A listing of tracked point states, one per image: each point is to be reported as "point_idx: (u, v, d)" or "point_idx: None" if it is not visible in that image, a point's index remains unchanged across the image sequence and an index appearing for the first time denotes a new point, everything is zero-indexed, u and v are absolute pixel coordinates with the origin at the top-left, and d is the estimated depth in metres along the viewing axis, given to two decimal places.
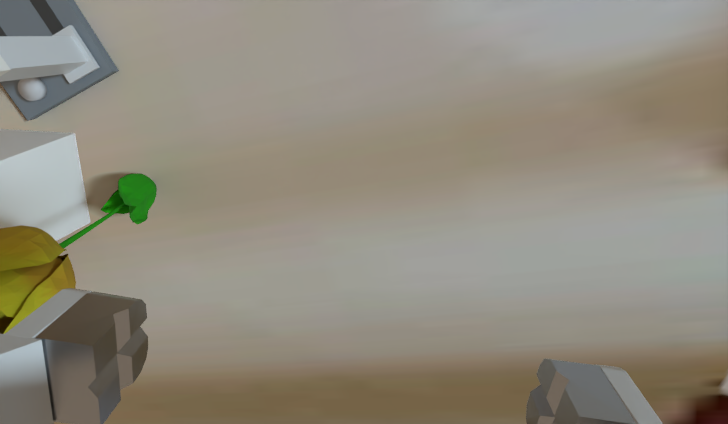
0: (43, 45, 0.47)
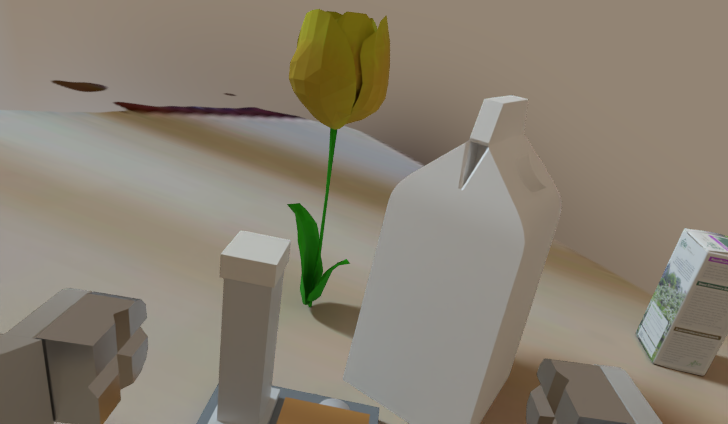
0: None
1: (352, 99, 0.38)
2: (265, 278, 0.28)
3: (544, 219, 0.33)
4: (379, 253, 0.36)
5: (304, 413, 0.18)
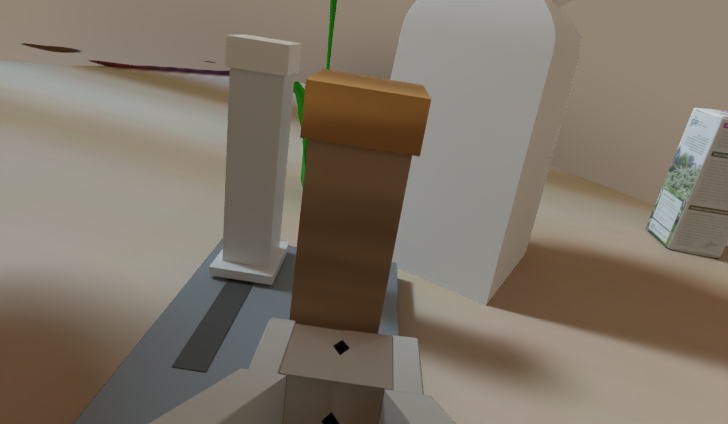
0: None
1: None
2: (277, 64, 0.25)
3: (570, 32, 0.31)
4: None
5: (348, 74, 0.15)
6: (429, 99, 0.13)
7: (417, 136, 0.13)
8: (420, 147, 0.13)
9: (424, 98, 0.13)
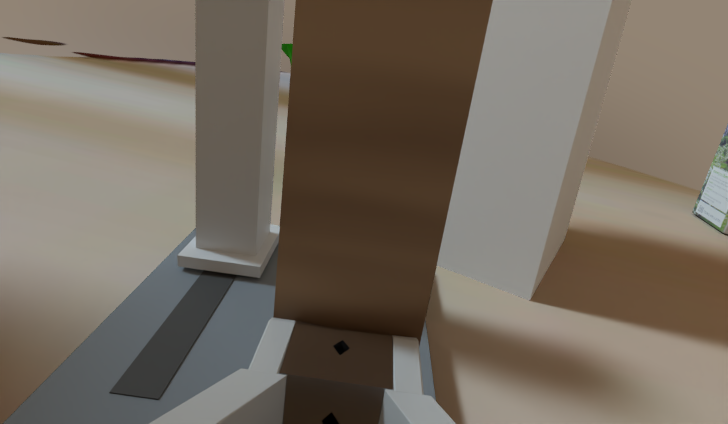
0: None
1: None
2: None
3: None
4: None
5: None
6: None
7: None
8: None
9: None
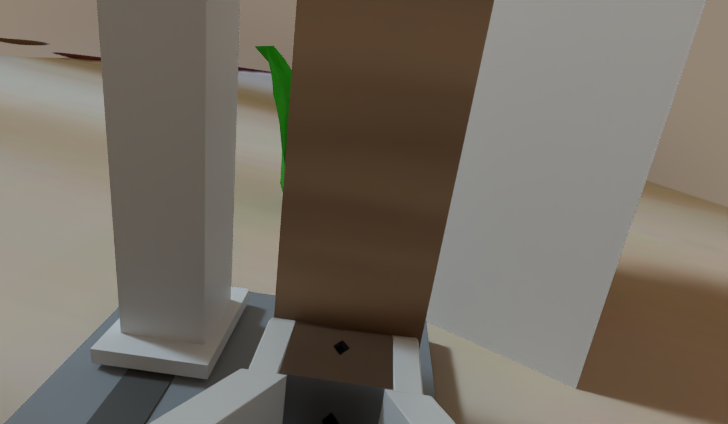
0: None
1: None
2: None
3: None
4: None
5: None
6: None
7: None
8: None
9: None
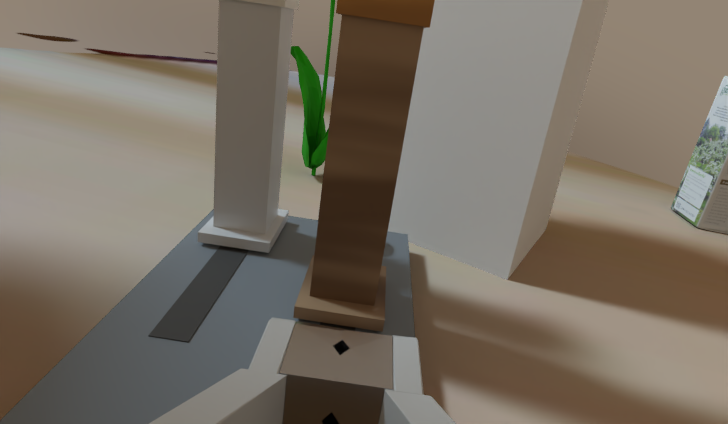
0: None
1: None
2: None
3: None
4: None
5: None
6: None
7: (427, 9, 0.16)
8: (430, 19, 0.17)
9: None
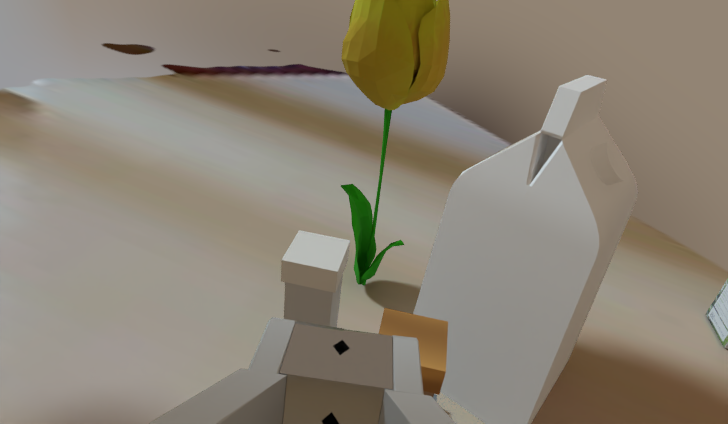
0: None
1: (409, 81, 0.36)
2: (326, 283, 0.28)
3: (620, 215, 0.30)
4: (438, 245, 0.35)
5: (399, 319, 0.24)
6: (444, 370, 0.22)
7: (437, 386, 0.22)
8: (439, 391, 0.22)
9: (442, 370, 0.22)
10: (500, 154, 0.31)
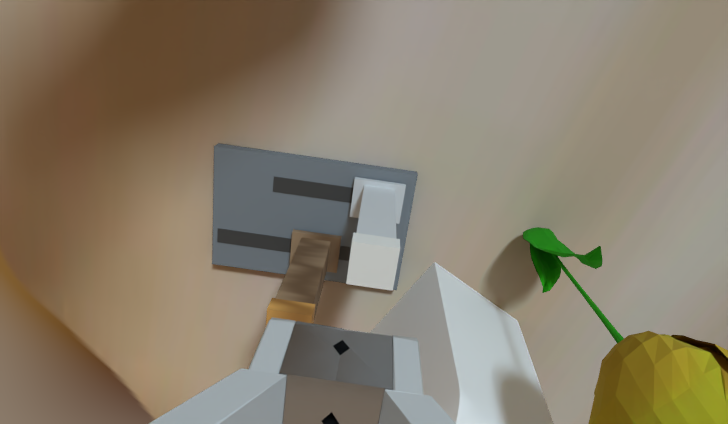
0: (372, 205, 0.40)
1: None
2: None
3: None
4: (447, 346, 0.38)
5: None
6: None
7: None
8: None
9: None
10: None
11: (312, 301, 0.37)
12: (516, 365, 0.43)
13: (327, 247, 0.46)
